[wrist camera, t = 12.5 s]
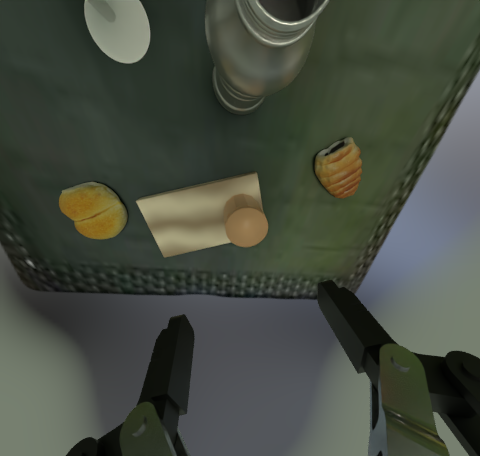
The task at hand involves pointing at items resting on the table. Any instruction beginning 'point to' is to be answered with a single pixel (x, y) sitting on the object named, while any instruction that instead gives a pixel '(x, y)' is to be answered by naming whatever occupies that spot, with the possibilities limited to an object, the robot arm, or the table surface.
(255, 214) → the cap
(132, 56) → the champagne flute
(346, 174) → the pastry
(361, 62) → the table surface
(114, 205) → the bread roll
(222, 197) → the board
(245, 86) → the plastic bottle
